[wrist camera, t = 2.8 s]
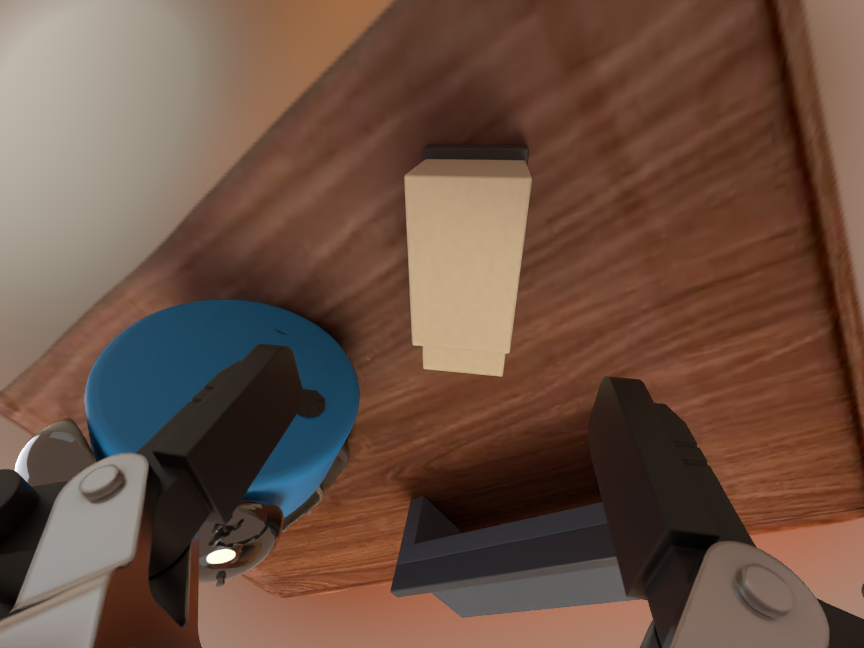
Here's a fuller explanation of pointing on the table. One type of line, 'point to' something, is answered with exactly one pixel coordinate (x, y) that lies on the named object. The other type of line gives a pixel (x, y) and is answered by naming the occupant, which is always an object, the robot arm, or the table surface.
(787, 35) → the table surface
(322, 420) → the alarm clock
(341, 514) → the table surface
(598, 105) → the table surface
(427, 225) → the tan stepped block
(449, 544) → the grey stand
